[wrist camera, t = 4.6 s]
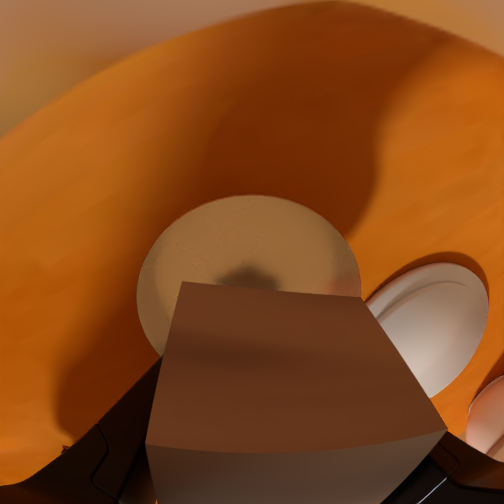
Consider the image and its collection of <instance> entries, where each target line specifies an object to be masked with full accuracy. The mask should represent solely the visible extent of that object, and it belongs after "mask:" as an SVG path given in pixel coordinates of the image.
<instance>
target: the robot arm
mask: <svg viewBox="0 0 504 504" xmlns="http://www.w3.org/2000/svg"><path fill="white" fill-rule="evenodd" d="M162 360H163V356H162V357H161V358H160V359H159V360H158V361H157V362H156V363H155V364H154V365H153V366H152V367H151V368H150V369H149V370H148V371H147V372H146V373H145V374H144V375H143V376H142V377H141V378H140V379H139V380H138V381H137V382H136V383H135V384H134V385H133V386H132V387H131V388H130V389H129V390H128V391H127V392H126V393H125V394H124V395H123V396H122V397H121V398H120V400H119V401H118V402H117V403H116V404H115V405H114V406H113V407H112V408H111V409H110V410H109V411H108V412H107V413H106V414H105V415H104V416H103V417H102V418H101V419H100V420H99V421H98V424H97V423H96V424H95V425H94V426H93V427H92V428H91V429H90V430H89V431H88V432H87V433H86V434H85V435H84V436H83V437H81V438H80V439H79V440H78V441H77V442H76V443H75V444H74V445H72V446H71V447H70V448H69V449H67V450H66V451H65V450H62V452H61V455H60V456H58V457H57V458H56V459H54V460H53V461H52V462H50V463H49V464H48V465H46V466H45V467H44V468H42V469H41V470H40V471H38V472H37V473H35V474H34V475H33V476H31V477H30V478H28V479H26V480H24V481H22V482H19V483H16V484H11V485H3V486H0V504H155V503H156V494H155V490H154V486H153V481H152V477H151V472H150V467H149V462H148V457H147V452H146V446H145V441H146V436H147V431H148V426H149V421H150V415H151V410H152V406H153V401H154V396H155V391H156V387H157V382H158V377H159V373H160V368H161V364H162ZM380 504H504V462H500V461H497V460H495V459H493V458H491V457H489V456H488V455H486V454H484V453H482V452H481V451H479V450H477V449H475V448H474V447H472V446H470V445H469V444H467V443H465V442H463V441H462V440H460V439H459V438H457V437H456V436H454V435H453V434H451V433H450V432H448V431H446V432H445V434H444V435H443V436H442V437H441V439H440V440H439V441H438V442H437V444H436V445H435V446H434V447H433V448H432V450H431V451H430V452H429V453H428V454H427V455H426V457H425V458H424V459H423V460H422V461H421V462H420V463H419V465H418V466H417V467H416V468H415V469H414V470H413V471H412V472H411V473H410V474H409V475H408V476H407V478H406V479H405V480H404V481H403V482H402V483H401V484H400V485H399V486H398V487H397V488H396V489H395V490H394V491H393V492H392V493H391V494H390V495H389V496H388V497H386V498H385V499H384V500H383V501H382V502H381V503H380Z"/></svg>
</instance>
